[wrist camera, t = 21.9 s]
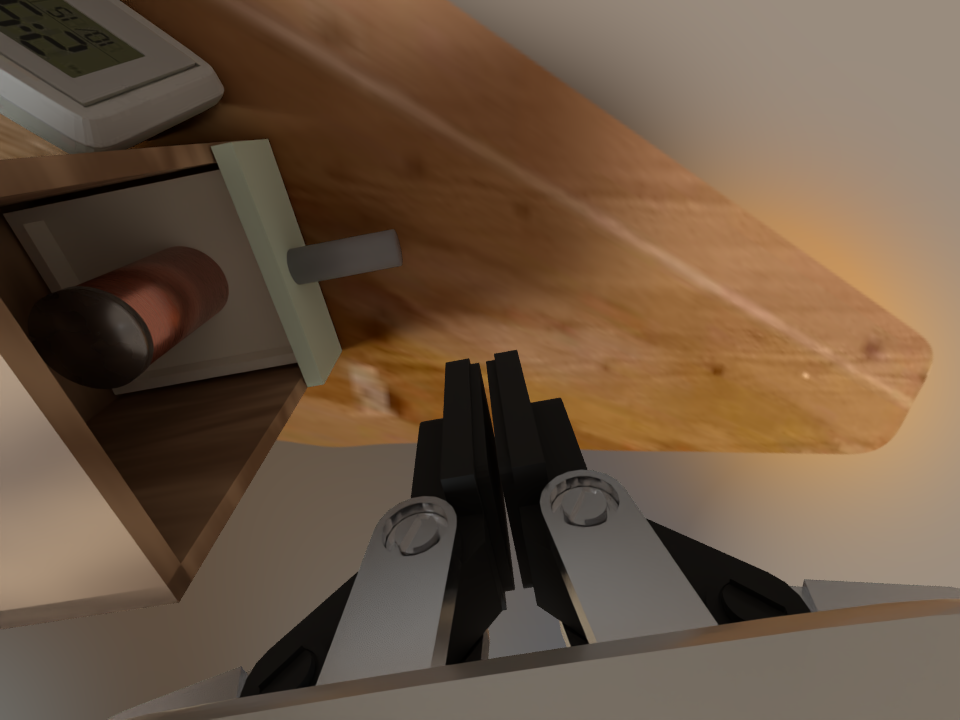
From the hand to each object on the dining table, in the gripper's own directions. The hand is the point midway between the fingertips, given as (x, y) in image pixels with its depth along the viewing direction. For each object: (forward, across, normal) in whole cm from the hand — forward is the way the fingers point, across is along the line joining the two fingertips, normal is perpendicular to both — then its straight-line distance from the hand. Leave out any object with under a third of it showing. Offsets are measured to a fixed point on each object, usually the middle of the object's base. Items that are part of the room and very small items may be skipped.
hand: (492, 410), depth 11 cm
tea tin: (+23, +20, +1) cm, 31 cm away
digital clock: (+26, +20, -14) cm, 36 cm away
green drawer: (+25, +17, +1) cm, 30 cm away
